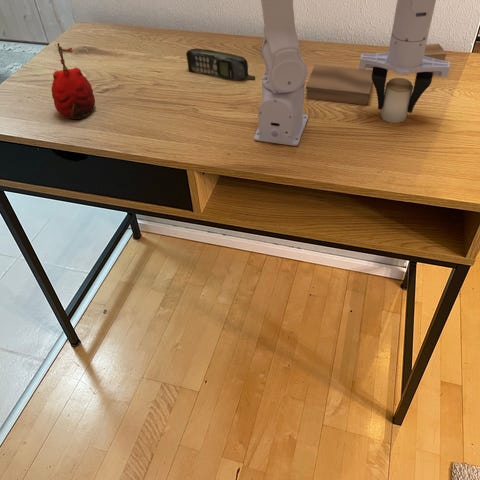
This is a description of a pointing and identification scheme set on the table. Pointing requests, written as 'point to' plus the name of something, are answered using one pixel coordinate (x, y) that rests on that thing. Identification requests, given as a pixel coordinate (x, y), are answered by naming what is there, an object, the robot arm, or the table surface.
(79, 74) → the red bumpy rounded piece
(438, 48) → the walnut block
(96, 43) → the table surface
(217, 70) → the mobile phone
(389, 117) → the stoneware jar
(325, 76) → the wooden brick
